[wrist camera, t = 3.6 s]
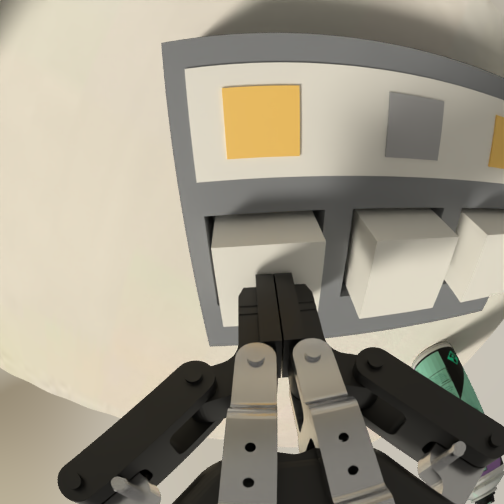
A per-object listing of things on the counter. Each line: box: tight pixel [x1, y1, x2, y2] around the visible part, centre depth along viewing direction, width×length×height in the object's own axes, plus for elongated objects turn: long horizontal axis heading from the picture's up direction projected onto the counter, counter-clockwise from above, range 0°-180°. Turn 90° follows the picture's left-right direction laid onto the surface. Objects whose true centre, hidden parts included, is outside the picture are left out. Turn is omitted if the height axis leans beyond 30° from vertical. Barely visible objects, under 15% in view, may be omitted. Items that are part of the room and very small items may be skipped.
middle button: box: [344, 208, 458, 319], centre depth 14 cm, size 4×4×3 cm
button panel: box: [161, 33, 504, 346], centre depth 15 cm, size 20×16×5 cm
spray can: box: [412, 342, 504, 504], centre depth 21 cm, size 6×6×20 cm
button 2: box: [211, 210, 326, 327], centre depth 14 cm, size 4×4×3 cm
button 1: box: [444, 208, 504, 302], centre depth 14 cm, size 4×4×3 cm
